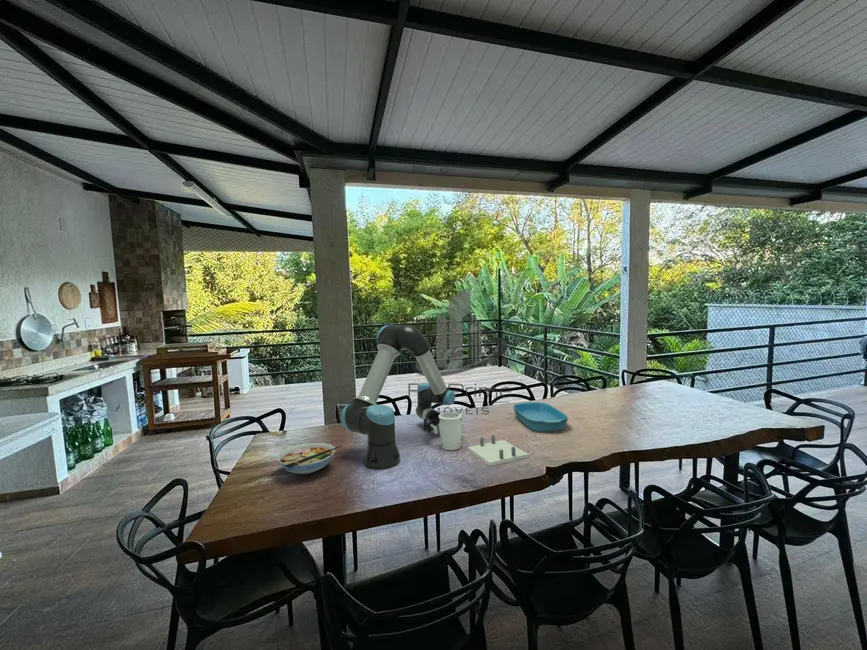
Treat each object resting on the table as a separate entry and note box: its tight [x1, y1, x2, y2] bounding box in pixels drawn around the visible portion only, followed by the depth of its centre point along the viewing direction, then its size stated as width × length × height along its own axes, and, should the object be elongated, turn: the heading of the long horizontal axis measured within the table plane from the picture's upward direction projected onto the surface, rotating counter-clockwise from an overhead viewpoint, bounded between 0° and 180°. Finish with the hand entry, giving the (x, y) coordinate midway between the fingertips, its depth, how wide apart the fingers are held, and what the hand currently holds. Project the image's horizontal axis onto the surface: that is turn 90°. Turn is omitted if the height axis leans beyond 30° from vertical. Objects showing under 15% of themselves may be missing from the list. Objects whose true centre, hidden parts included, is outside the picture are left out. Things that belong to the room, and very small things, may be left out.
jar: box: [438, 411, 463, 451], centre depth 177 cm, size 11×10×15 cm
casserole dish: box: [512, 401, 569, 433], centre depth 208 cm, size 37×22×7 cm, turn 8°
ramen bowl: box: [276, 442, 342, 475], centre depth 158 cm, size 25×23×8 cm
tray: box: [467, 434, 529, 467], centre depth 168 cm, size 19×19×5 cm
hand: (450, 428), depth 180 cm, fingers open, 13 cm apart
